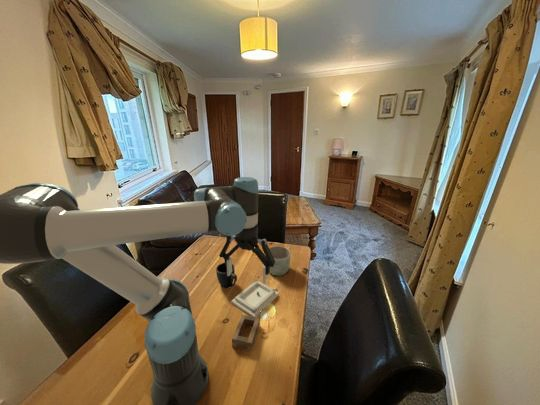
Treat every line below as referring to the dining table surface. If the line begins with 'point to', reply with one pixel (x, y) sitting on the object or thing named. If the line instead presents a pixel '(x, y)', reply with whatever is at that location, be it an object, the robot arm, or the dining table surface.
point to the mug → (225, 276)
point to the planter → (280, 260)
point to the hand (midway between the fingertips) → (246, 277)
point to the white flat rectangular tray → (255, 298)
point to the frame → (237, 338)
